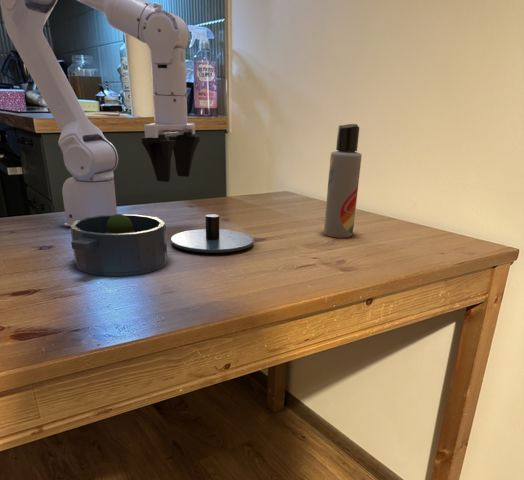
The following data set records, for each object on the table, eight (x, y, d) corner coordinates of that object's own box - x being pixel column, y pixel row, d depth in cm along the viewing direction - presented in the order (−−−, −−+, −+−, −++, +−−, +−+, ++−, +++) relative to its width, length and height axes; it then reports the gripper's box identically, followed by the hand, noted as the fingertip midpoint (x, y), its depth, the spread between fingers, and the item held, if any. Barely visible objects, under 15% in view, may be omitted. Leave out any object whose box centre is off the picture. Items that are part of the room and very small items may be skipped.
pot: (43, 273, 71) (36, 232, 69) (120, 243, 87) (116, 208, 85) (125, 287, 67) (121, 243, 65) (189, 252, 84) (188, 216, 81)
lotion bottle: (358, 236, 98) (371, 125, 89) (337, 239, 95) (348, 124, 86) (338, 230, 102) (349, 123, 93) (317, 233, 99) (326, 123, 90)
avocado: (98, 261, 76) (92, 215, 73) (118, 253, 80) (113, 209, 77) (127, 266, 74) (123, 219, 71) (146, 257, 79) (143, 212, 76)
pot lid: (155, 249, 85) (153, 219, 82) (194, 231, 97) (193, 204, 95) (234, 260, 80) (235, 228, 78) (264, 240, 93) (265, 212, 91)
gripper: (169, 95, 78) (173, 185, 84) (209, 97, 90) (210, 175, 96) (130, 94, 80) (137, 182, 86) (174, 95, 92) (177, 172, 98)
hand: (173, 178), depth 91 cm, fingers open, 7 cm apart
